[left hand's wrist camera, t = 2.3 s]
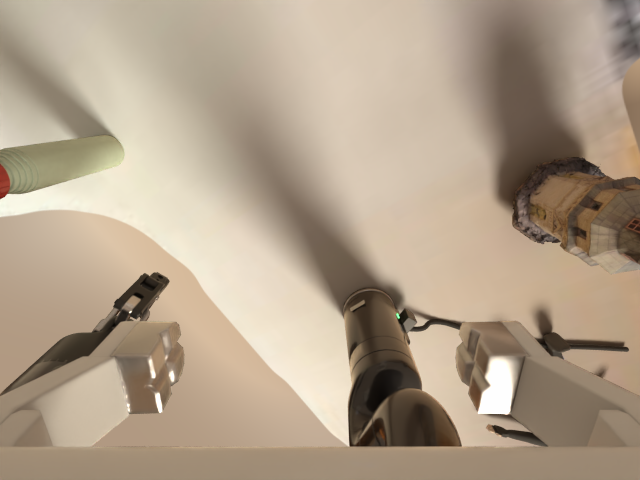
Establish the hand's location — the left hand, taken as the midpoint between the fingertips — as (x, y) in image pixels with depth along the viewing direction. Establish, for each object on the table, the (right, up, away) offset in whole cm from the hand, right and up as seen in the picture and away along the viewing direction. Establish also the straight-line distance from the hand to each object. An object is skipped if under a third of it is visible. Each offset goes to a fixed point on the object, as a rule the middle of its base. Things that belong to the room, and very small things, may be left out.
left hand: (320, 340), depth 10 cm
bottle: (-33, +17, +45) cm, 58 cm away
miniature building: (+37, +10, +47) cm, 61 cm away
